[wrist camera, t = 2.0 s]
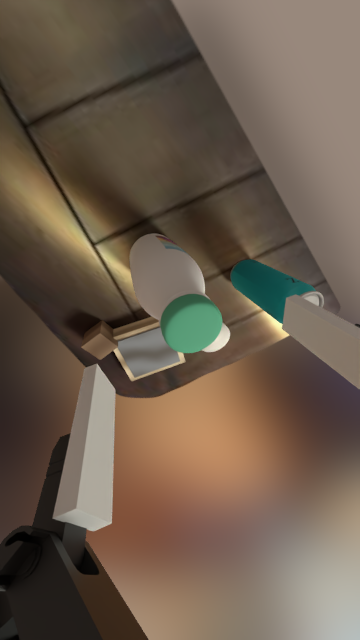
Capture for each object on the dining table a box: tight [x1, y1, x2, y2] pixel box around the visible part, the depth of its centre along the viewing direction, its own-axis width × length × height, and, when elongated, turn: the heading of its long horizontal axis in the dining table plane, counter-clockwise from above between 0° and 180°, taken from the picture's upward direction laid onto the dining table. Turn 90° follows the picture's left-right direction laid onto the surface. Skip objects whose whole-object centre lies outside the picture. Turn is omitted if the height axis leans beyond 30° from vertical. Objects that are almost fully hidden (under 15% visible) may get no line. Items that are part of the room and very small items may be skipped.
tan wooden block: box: [81, 320, 118, 360], centre depth 33 cm, size 4×4×4 cm
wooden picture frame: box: [113, 317, 185, 381], centre depth 37 cm, size 12×12×3 cm
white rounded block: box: [202, 322, 230, 352], centre depth 39 cm, size 7×7×3 cm
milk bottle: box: [129, 233, 222, 353], centre depth 22 cm, size 8×8×20 cm
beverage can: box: [230, 259, 324, 324], centre depth 29 cm, size 6×6×15 cm
